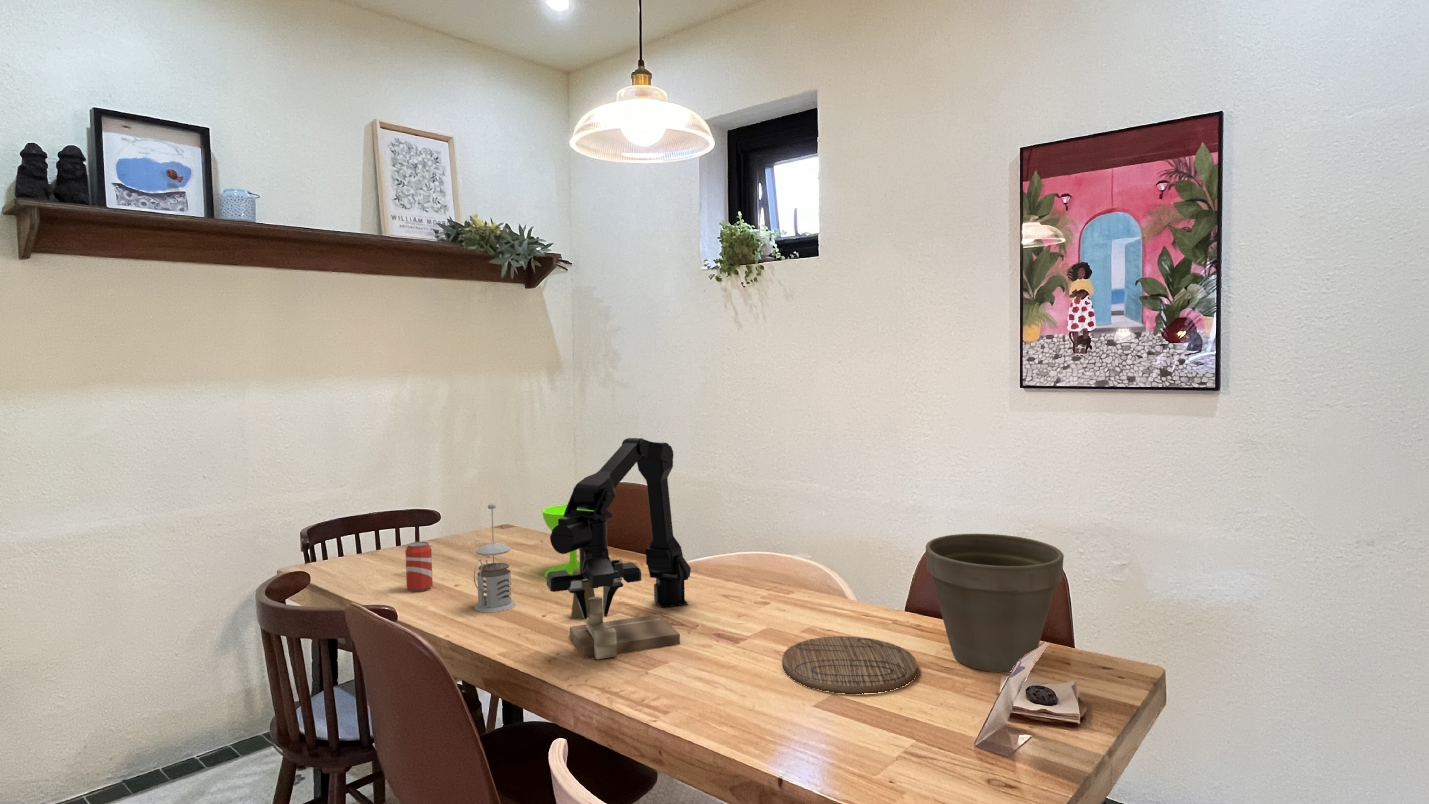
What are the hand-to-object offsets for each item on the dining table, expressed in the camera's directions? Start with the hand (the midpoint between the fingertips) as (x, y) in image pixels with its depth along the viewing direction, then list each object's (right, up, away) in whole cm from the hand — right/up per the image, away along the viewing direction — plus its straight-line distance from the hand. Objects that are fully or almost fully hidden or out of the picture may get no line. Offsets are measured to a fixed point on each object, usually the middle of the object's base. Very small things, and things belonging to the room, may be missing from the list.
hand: (595, 617), depth 163 cm
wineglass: (-14, -3, +56) cm, 58 cm away
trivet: (+50, -6, -14) cm, 52 cm away
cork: (-5, -5, +20) cm, 21 cm away
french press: (-29, -5, +26) cm, 39 cm away
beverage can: (-52, -5, +43) cm, 68 cm away
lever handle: (+1, -5, -2) cm, 6 cm away
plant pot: (+78, -5, -12) cm, 79 cm away
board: (+6, -5, +2) cm, 8 cm away
